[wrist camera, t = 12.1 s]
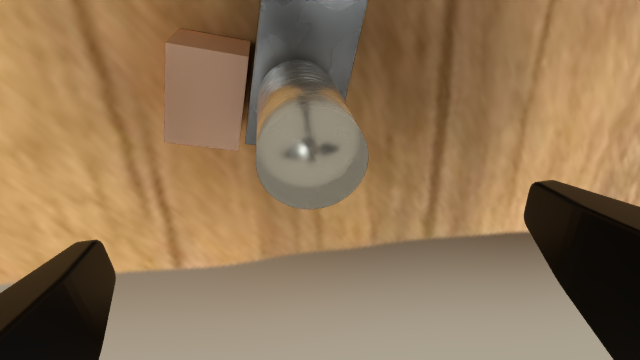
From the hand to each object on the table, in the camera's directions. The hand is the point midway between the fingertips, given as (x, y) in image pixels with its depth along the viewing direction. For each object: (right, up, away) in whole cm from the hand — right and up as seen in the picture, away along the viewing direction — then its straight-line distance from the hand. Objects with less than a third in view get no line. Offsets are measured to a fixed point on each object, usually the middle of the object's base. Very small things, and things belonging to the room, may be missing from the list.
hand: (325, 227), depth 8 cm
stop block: (-5, +6, +10) cm, 13 cm away
